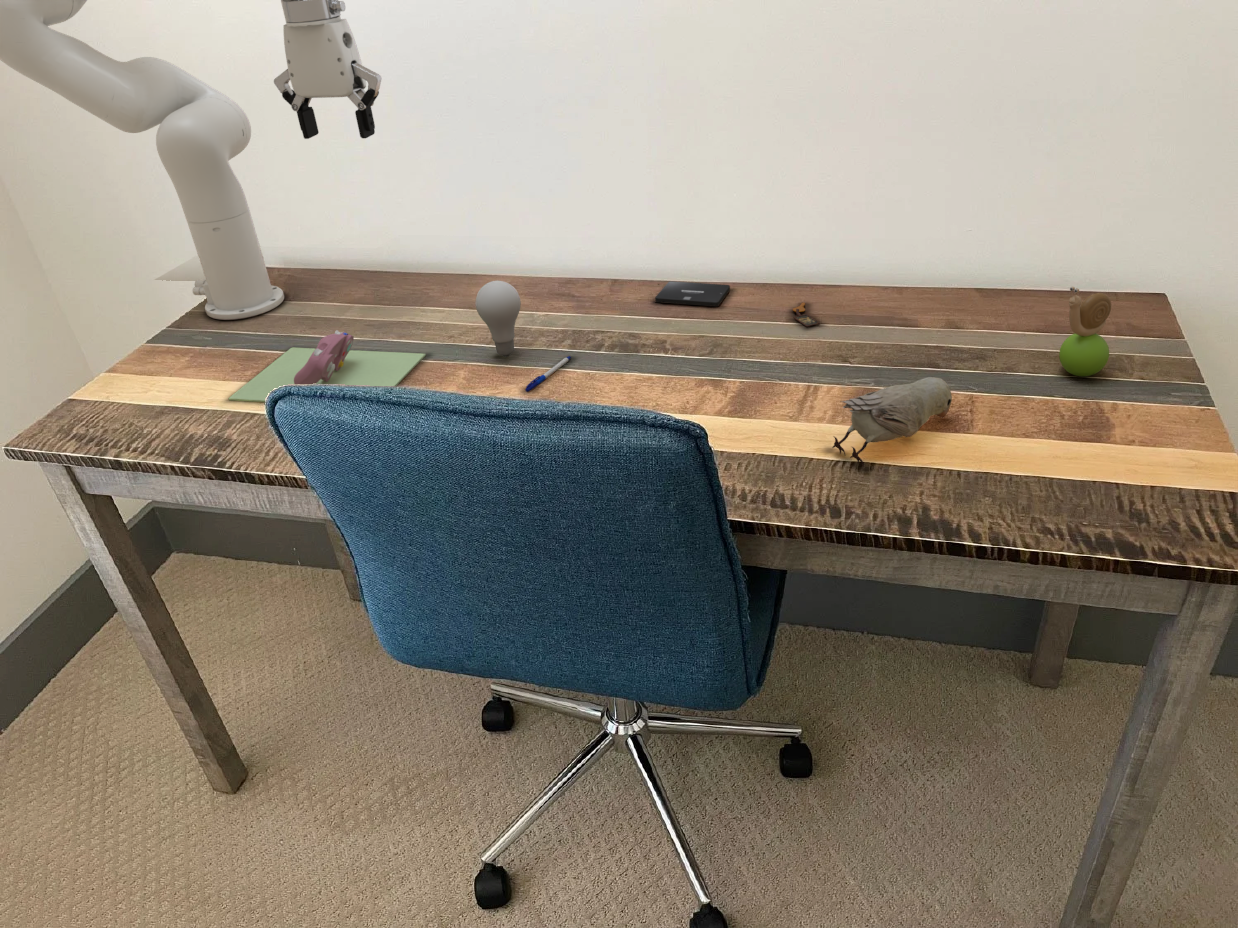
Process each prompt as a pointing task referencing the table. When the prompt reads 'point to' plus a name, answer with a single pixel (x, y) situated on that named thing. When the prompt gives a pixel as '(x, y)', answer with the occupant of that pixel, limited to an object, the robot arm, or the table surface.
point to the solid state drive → (692, 293)
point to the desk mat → (354, 371)
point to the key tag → (804, 316)
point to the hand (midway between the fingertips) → (339, 136)
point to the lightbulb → (499, 313)
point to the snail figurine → (1086, 335)
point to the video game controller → (325, 358)
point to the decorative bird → (896, 411)
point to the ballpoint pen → (546, 375)
